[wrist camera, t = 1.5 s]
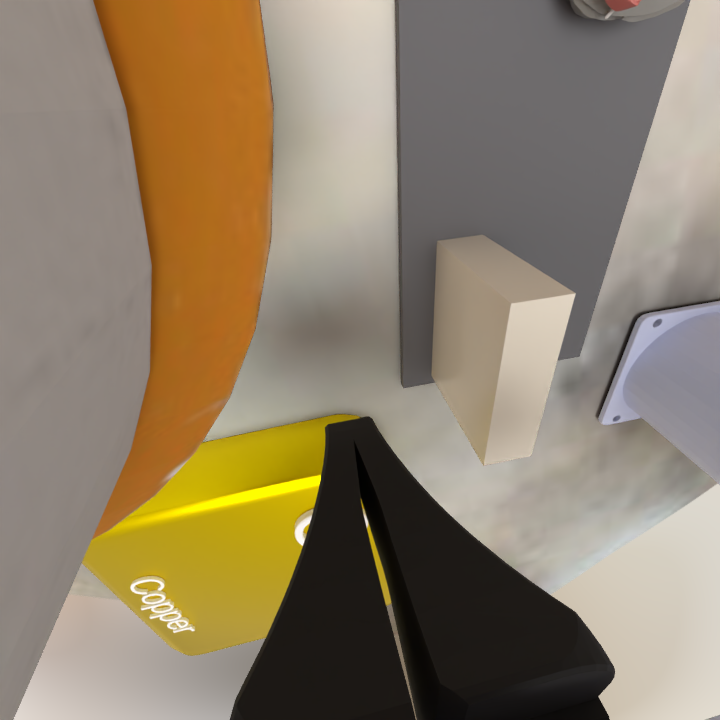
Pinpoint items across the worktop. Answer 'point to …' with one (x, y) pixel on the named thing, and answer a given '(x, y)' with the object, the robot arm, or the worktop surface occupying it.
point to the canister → (117, 270)
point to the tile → (495, 343)
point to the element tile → (220, 538)
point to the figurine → (623, 9)
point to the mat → (519, 143)
